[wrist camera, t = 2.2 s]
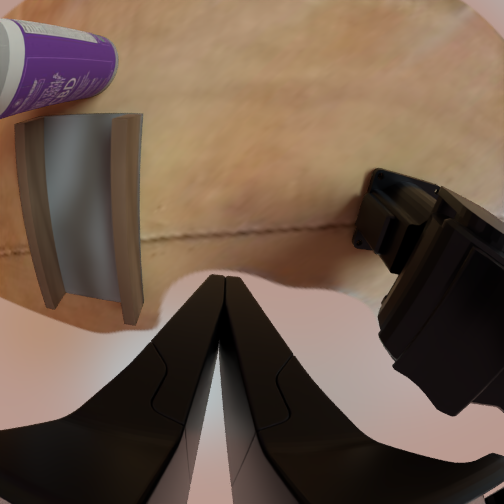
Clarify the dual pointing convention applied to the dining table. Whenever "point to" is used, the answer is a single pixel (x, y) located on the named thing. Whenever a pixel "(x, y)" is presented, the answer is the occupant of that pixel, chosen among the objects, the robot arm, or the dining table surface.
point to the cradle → (83, 205)
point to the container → (51, 65)
